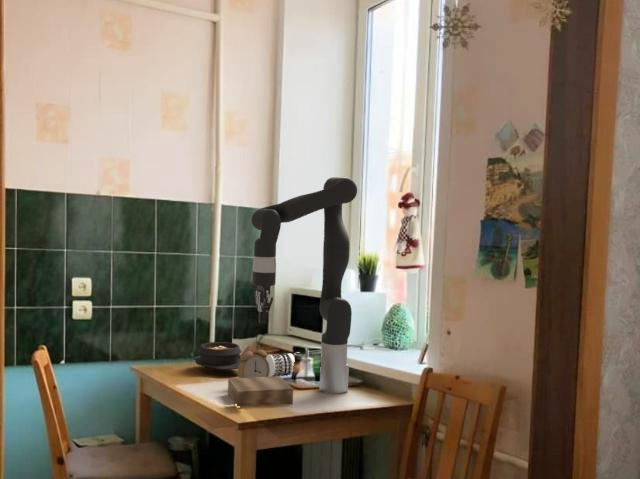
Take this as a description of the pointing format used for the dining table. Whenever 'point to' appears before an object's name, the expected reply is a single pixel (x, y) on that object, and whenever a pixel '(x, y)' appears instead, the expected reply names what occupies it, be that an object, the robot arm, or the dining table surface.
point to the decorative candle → (281, 364)
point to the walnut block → (260, 391)
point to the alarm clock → (253, 364)
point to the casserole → (219, 356)
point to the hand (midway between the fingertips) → (262, 323)
